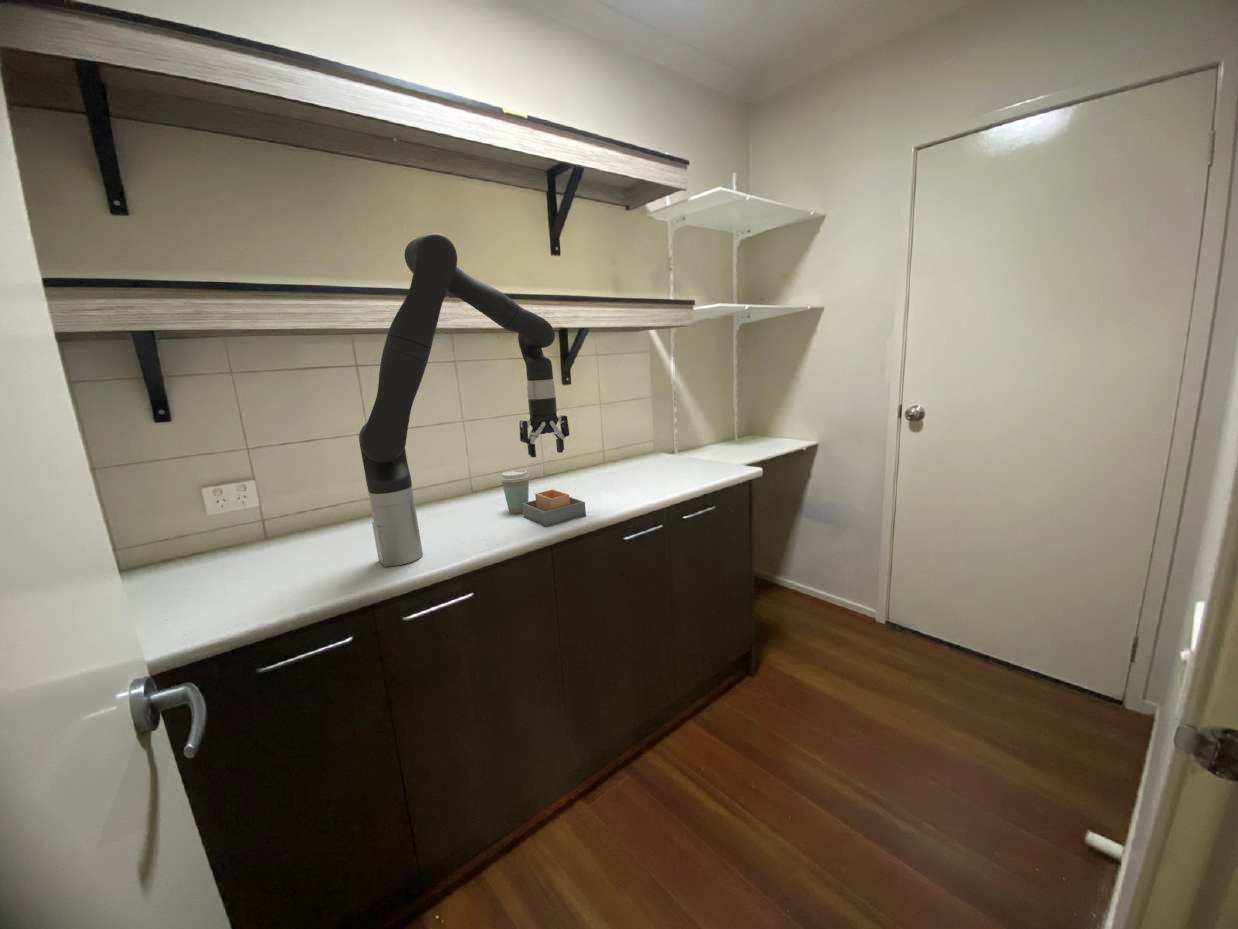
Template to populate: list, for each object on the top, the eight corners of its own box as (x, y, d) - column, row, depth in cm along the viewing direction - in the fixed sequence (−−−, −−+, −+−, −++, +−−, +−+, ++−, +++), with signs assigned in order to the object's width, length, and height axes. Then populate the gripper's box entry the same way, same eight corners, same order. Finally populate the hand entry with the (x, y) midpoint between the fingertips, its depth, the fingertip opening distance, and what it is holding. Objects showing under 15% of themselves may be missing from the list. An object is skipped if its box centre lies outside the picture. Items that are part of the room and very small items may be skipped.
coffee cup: (535, 512, 146) (531, 473, 144) (506, 517, 143) (502, 477, 141) (529, 505, 154) (525, 467, 151) (502, 509, 151) (497, 471, 148)
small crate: (552, 520, 136) (550, 499, 134) (537, 513, 143) (535, 493, 142) (570, 514, 139) (569, 494, 138) (555, 508, 146) (553, 489, 145)
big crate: (545, 526, 132) (543, 512, 131) (523, 516, 143) (521, 503, 142) (585, 515, 140) (584, 502, 139) (562, 506, 150) (561, 493, 149)
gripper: (524, 399, 127) (530, 460, 130) (571, 394, 135) (575, 452, 138) (511, 398, 133) (517, 457, 136) (557, 394, 141) (562, 449, 144)
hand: (546, 454), depth 137 cm, fingers open, 8 cm apart
